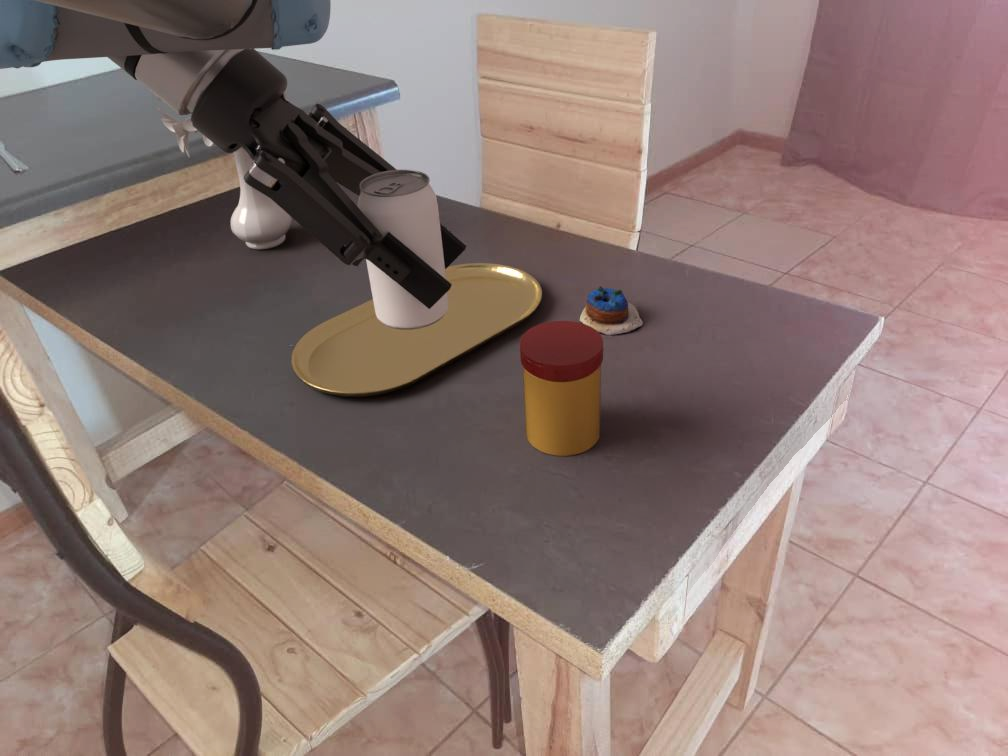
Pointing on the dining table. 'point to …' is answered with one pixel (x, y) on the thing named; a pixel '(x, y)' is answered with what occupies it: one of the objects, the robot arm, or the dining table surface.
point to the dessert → (610, 312)
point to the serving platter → (414, 334)
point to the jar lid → (561, 350)
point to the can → (404, 242)
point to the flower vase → (243, 197)
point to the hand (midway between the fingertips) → (448, 276)
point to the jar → (562, 413)
